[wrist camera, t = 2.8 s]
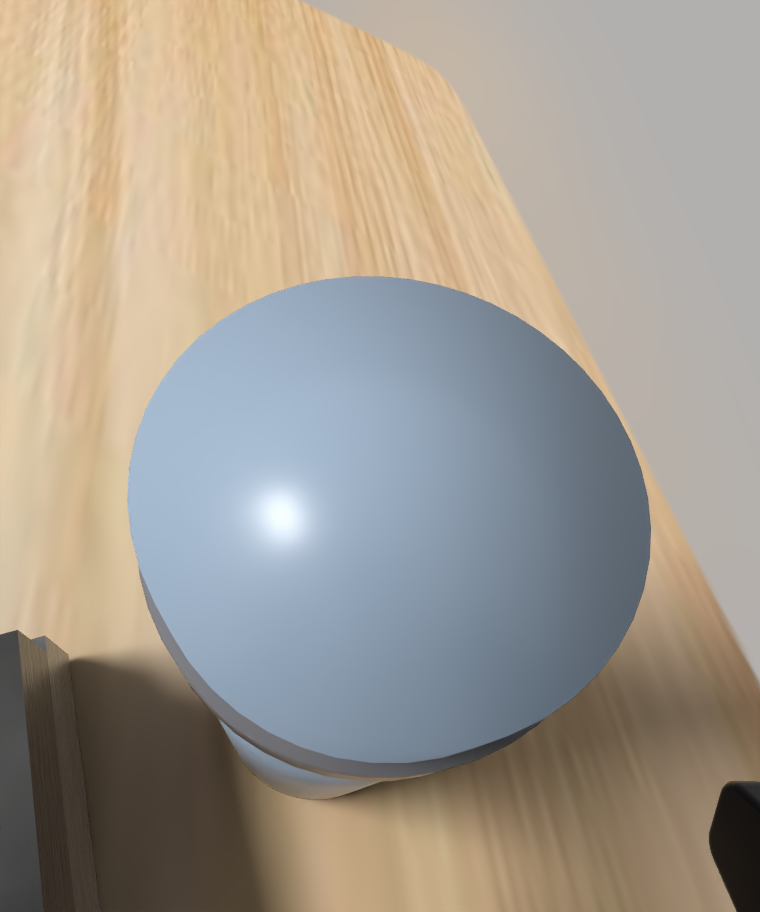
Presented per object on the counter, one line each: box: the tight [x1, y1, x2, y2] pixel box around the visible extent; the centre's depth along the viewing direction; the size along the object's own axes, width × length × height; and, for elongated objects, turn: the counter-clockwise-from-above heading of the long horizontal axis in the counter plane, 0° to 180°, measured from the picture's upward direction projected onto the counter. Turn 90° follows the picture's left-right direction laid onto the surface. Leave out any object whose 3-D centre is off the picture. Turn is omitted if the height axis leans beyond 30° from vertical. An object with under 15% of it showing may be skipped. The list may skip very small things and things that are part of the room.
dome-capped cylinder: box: [127, 277, 651, 799], centre depth 12 cm, size 5×5×13 cm
